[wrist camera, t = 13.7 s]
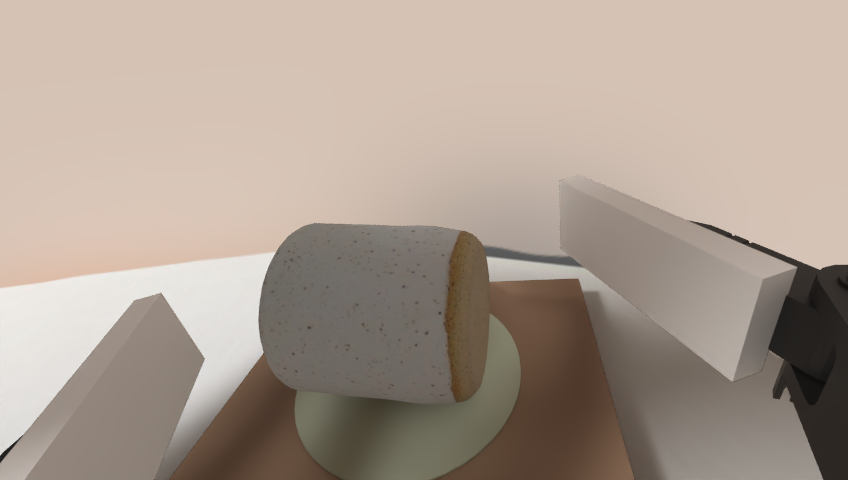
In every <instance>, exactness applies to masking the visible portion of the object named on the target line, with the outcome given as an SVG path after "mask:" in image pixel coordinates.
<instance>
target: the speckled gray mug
mask: <svg viewBox="0 0 848 480" xmlns="http://www.w3.org/2000/svg"><path fill="white" fill-rule="evenodd" d="M489 318H490V289H489V273H488V265H487V259H486V253H485V250H484V247H483V245H482V243H481V242H480V241H479V240H478V239H477V238H476V237H475V236H474V235H473V234H471V233H468V232H466V231H460V230H455V229H449V228H443V227H436V226H387V225H352V224H320V223H318V224H317V223H314V224H309V225H306V226H303V227H301V228H300V229H298V230H297V231H295V232H294V233H292V234H291V235H289V236H288V237H287V239H286V240H285V241H284V242H283V243H282V244H281V246H280V247H279V249H278V250H277V252H276V254H275V255H274V257H273V259H272V261H271V263H270V265H269V267H268V270H267V273H266V276H265V279H264V282H263V286H262V291H261V298H260V306H259V332H260V339H261V343H262V347H263V351H264V355H265V358H266V360H267V362H268V365H269V367H270V368H271V370H272V372H273V373H274V374H275V375H276V377H277V378H278V379H279V380H280V381H281V382H283V383H284V384H285V385H287V386H288V387H290V388H292V389H295V390H299V391H302V392H319V393H327V394H335V395H343V396H354V397H364V398H377V399H387V400H396V401H403V402H410V403H417V404H428V405H433V404H454V403H458V402H463V401H467V400H468V399H469V398H471V397H472V396H473V395H474V394H475V393H476V392H477V390H478V389H479V388H480V386H481V384H482V379H483V375H484V371H485V365H486V358H487V349H488V337H489Z"/></svg>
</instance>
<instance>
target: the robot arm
mask: <svg viewBox="0 0 848 480" xmlns="http://www.w3.org/2000/svg"><path fill="white" fill-rule="evenodd" d="M559 191H560V192H559V196H560V241H561V243H560V245H561V249H562V250H563V251H564V252H565V253H567V254H568V255H569V256H571V257H572V258H573V259H574V260H576V261H577V262H578V263H580V264H581V265H582V266H583V267H585V268H586V269H587V270H589V271H590V272H591V273H592V274H594V275H595V276H596V277H598V278H599V279H600V280H601V281H603V282H604V283H605V284H607V285H608V286H609V287H611V288H612V289H613V290H614V291H616V292H617V293H618V294H620V295H621V296H622V297H623V298H625V299H626V300H627V301H629V302H630V303H631V304H632V305H634V306H635V307H636V308H638V309H639V310H640V311H641V312H643V313H644V314H645V315H647V316H648V317H649V318H650V319H652V320H653V321H654V322H656V323H657V324H658V325H660V326H661V327H662V328H663V329H665V330H666V331H667V332H669V333H670V334H671V335H672V336H674V337H675V338H676V339H678V340H679V341H680V342H681V343H683V344H684V345H685V346H687V347H688V348H689V349H690V350H692V351H693V352H694V353H696V354H697V355H698V356H699V357H701V358H702V359H703V360H705V361H706V362H707V363H709V364H710V365H711V366H712V367H714V368H715V369H716V370H718V371H719V372H720V373H721V374H723V375H724V376H725V377H727V378H728V379H729V380H730V381H732V382H734V381H737V380H739V379H742V378H744V377H747V376H750V375H752V374H755V373H757V372H760V371H762V369H763V366H764V363H765V360H766V357H767V354H768V351H769V350H770V351H772V352H773V353H775V354H777V355H778V356H780V357H781V358H783V359H784V362H783V364H782V367H781V369H780V372H779V375H778V377H777V380H776V383H775V385H774V388H773V398H775V399H780V397H781V395H782V392H783V390H784V389H785V388H786V387H787V388H788V391H789V393H790V396H791V397H790V400H789V401H790V402H793V403H794V406H795V408H796V411H797V413H798V416H799V419H800V421H801V424H802V426H803V429H804V431H805V434H806V436H807V439H808V442H809V444H810V447H811V449H812V452H813V454H814V457H815V459H816V462H817V465H818V467H819V470H820V472H821V475H822V477H823V480H848V265H833V266H829V267H825V268H822V269H821V270H819V269H816V268H814V267H811V266H809V265H807V264H804V263H802V262H799V261H797V260H794V259H792V258H789V257H787V256H785V255H782V254H780V253H777V252H775V251H773V250H770V249H768V248H765V247H763V246H760V245H758V244H755V243H749V241H748V240H746V239H743V238H741V237H738V236H736V235H735V236H732V234H731V233H729V232H726V231H724V230H721V229H719V228H717V227H714V226H712V225H707V224H702V223H698V222H693V221H688V220H685V219H683V218H680V217H678V216H675V215H673V214H671V213H668V212H666V211H663V210H661V209H659V208H657V207H654V206H652V205H649V204H647V203H645V202H643V201H640V200H638V199H635V198H633V197H631V196H628V195H626V194H624V193H621V192H619V191H617V190H614V189H612V188H610V187H607V186H605V185H602V184H600V183H598V182H595V181H593V180H591V179H588V178H586V177H584V176H581V175H576V176H573V177H569V178H565V179H562V180H559ZM204 359H205V358H204V357H203V355H202V354H201V352H200V351H199V349H198V348H197V346H196V345H195V343H194V342H193V340H192V339H191V337H190V336H189V334H188V333H187V331H186V330H185V328H184V327H183V325H182V324H181V322H180V321H179V319H178V317H177V316H176V314H175V313H174V311H173V310H172V308H171V307H170V305H169V304H168V302H167V301H166V299H165V298H164V296H163V295H162V293H159V294H156V295H152V296H149V297H145V298H142V299H138V300H135V301H134V302H133V303H132V304H131V305H130V306H129V308H128V309H127V310H126V311H125V313H124V314H123V315H122V316H121V317H120V319H119V320H118V321H117V322H116V323H115V325H114V326H113V327H112V328H111V330H110V331H109V332H108V333H107V334H106V336H105V337H104V338H103V339H102V340H101V342H100V343H99V344H98V345H97V346H96V348H95V349H94V350H93V351H92V353H91V354H90V355H89V356H88V357H87V359H86V360H85V361H84V362H83V363H82V365H81V366H80V367H79V368H78V370H77V371H76V372H75V373H74V374H73V376H72V377H71V378H70V379H69V380H68V382H67V383H66V384H65V385H64V387H63V388H62V389H61V390H60V391H59V393H58V394H57V395H56V396H55V397H54V399H53V400H52V401H51V402H50V403H49V405H48V406H47V407H46V408H45V410H44V411H43V412H42V413H41V414H40V416H39V417H38V418H37V419H36V420H35V422H34V423H33V424H32V425H31V427H30V428H29V429H28V430H27V431H26V433H25V434H24V435H22V436H21V437H20V438H19V439H18V440H17V441H16V442H14V443H13V444H12V445H11V446H10V447H9V448H8V449H7V450H5V451H4V452H3V453H2V454H1V456H0V480H154V479H155V476H156V474H157V472H158V469H159V467H160V465H161V462H162V460H163V457H164V455H165V453H166V450H167V448H168V445H169V443H170V441H171V438H172V436H173V433H174V431H175V429H176V426H177V424H178V422H179V419H180V417H181V414H182V412H183V410H184V407H185V405H186V402H187V400H188V398H189V395H190V393H191V390H192V388H193V386H194V383H195V381H196V378H197V376H198V374H199V371H200V369H201V367H202V364H203V362H204Z"/></svg>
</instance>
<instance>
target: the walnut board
mask: <svg viewBox="0 0 848 480" xmlns="http://www.w3.org/2000/svg"><path fill="white" fill-rule="evenodd" d="M489 289H490V318H489V337H488V349H487V358H486V365H485V371H484V375H483V379H482V384H481V386H480V388H479V389H478V390H477V392H476V393H475V394H474V395H473V396H472V397H471V398H469V399H468V400H467V401H463V402H458V403H454V404H433V405H428V404H417V403H410V402H403V401H396V400H387V399H377V398H364V397H354V396H343V395H335V394H327V393H319V392H302V391H299V390H295V389H292V388H290V387H288V386H287V385H285V384H284V383H283V382H281V381H280V380H279V379H278V378H277V377H276V375H275V374H274V373H273V372H272V370H271V368H270V367H269V365H268V362H267V360H266V358H265V355H264V353H263V355H262V356H261V357H260V359H259V360H258V361H257V363H256V364H255V365H254V367H253V368H252V369H251V371H250V372H249V373H248V375H247V376H246V377H245V379H244V380H243V381H242V383H241V384H240V385H239V387H238V388H237V389H236V391H235V392H234V393H233V395H232V396H231V397H230V399H229V400H228V401H227V403H226V404H225V405H224V407H223V408H222V409H221V411H220V412H219V413H218V415H217V416H216V417H215V419H214V420H213V421H212V423H211V424H210V425H209V427H208V428H207V429H206V431H205V432H204V433H203V435H202V436H201V437H200V439H199V440H198V441H197V443H196V444H195V445H194V447H193V448H192V449H191V451H190V452H189V453H188V455H187V456H186V457H185V459H184V460H183V461H182V463H181V464H180V465H179V467H178V468H177V469H176V471H175V472H174V473H173V475H172V476H171V477H170V479H169V480H634V477H633V473H632V469H631V466H630V462H629V459H628V455H627V451H626V448H625V444H624V441H623V437H622V433H621V430H620V426H619V423H618V419H617V415H616V412H615V408H614V405H613V401H612V397H611V394H610V390H609V387H608V383H607V379H606V376H605V372H604V369H603V365H602V361H601V358H600V354H599V351H598V347H597V343H596V340H595V336H594V333H593V329H592V325H591V322H590V318H589V315H588V311H587V307H586V304H585V300H584V297H583V293H582V289H581V286H580V282H579V279H554V280H529V281H503V282H489Z"/></svg>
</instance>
